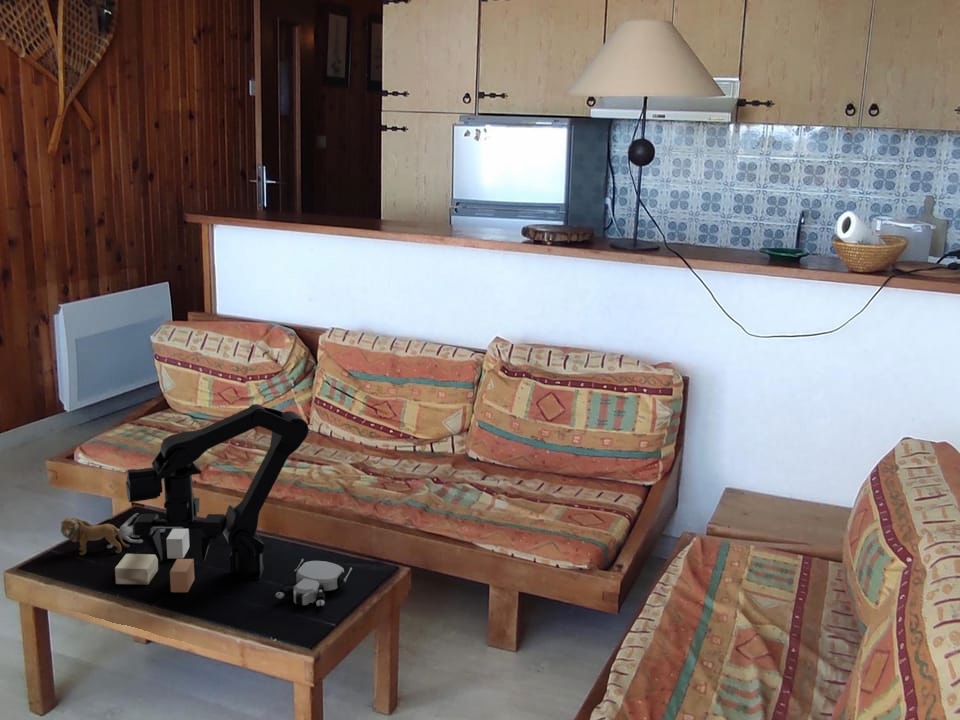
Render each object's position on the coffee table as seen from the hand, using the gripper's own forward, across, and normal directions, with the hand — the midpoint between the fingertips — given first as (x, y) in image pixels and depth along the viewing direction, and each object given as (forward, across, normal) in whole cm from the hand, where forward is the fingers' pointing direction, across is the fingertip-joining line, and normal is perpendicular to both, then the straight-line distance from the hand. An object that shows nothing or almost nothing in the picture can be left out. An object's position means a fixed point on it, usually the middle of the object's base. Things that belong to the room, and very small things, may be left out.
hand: (182, 560), depth 203 cm
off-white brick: (+6, +5, -16) cm, 18 cm away
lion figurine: (+6, +25, -16) cm, 30 cm away
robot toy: (+6, -29, +3) cm, 30 cm away
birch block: (+6, +11, -4) cm, 13 cm away
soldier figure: (+6, +17, -24) cm, 30 cm away
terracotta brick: (+6, 0, 0) cm, 6 cm away
